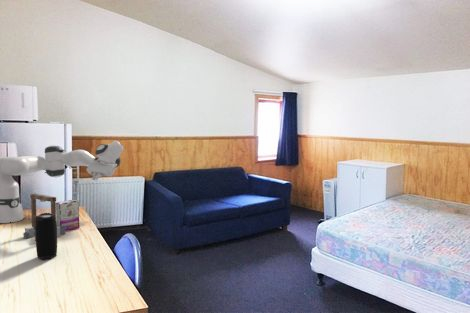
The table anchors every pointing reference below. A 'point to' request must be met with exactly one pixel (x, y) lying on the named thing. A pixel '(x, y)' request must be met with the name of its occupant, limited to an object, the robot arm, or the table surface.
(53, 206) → the aperture gantry
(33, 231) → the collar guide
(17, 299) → the table surface
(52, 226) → the portable speaker
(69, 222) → the candy bar box
